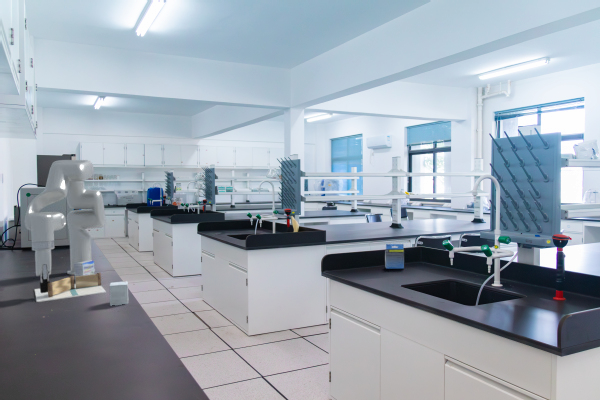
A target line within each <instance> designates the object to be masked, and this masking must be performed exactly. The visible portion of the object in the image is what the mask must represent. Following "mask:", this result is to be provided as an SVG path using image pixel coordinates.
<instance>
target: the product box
mask: <svg viewBox="0 0 600 400" xmlns="http://www.w3.org/2000/svg"><path fill="white" fill-rule="evenodd" d="M122 304H125V305H129V283H128V280H126V281H116V282H110V283H109V305H110V306H111V307H113V306H112V305H115V306H123V305H122Z"/></svg>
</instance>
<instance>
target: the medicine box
mask: <svg viewBox="0 0 600 400" xmlns="http://www.w3.org/2000/svg"><path fill="white" fill-rule="evenodd" d="M91 260H92V259H91ZM91 260H88V261H83V262H79V263H75V264H74V269H75V275H74V277H75V276H84V275H93V274H95V272H94V269H95V261H94V260H92V261H91ZM74 283H76V279H75V278H74Z"/></svg>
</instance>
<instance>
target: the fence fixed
mask: <svg viewBox="0 0 600 400" xmlns="http://www.w3.org/2000/svg"><path fill="white" fill-rule="evenodd" d="M68 277H69V278H71V289H75V284H76V288H83V287H91V286H99V285H101V286H102V274H101V272H96V273H94V274H93V275H84V276H75V275H69V276H68ZM75 279H76V282H75Z"/></svg>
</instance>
